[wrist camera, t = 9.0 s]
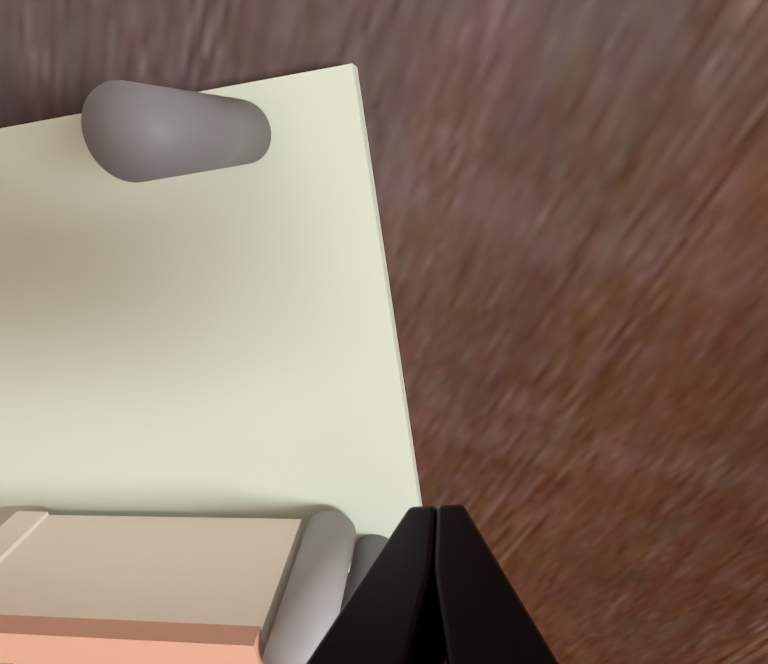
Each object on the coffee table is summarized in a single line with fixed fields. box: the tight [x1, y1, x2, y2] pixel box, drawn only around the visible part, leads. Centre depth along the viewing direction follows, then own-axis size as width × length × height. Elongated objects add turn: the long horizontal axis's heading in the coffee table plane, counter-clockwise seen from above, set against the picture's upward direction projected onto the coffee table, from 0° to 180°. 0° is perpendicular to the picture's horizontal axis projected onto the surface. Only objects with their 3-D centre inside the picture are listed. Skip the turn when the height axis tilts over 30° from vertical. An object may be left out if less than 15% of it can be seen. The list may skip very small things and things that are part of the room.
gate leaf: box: [0, 511, 356, 664], centre depth 20 cm, size 16×2×6 cm, turn 94°
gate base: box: [0, 64, 422, 664], centre depth 18 cm, size 21×22×8 cm
